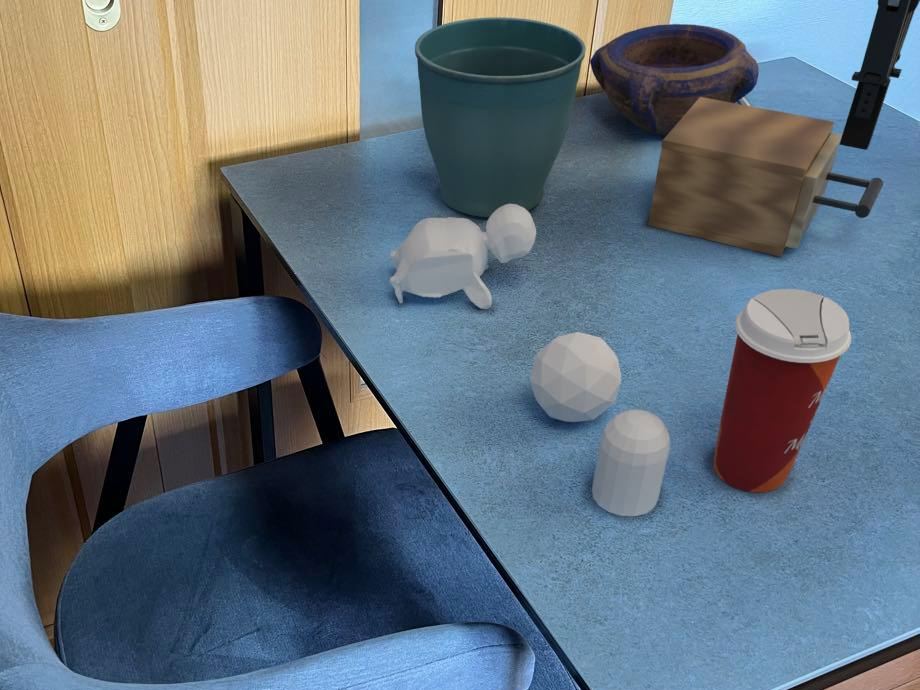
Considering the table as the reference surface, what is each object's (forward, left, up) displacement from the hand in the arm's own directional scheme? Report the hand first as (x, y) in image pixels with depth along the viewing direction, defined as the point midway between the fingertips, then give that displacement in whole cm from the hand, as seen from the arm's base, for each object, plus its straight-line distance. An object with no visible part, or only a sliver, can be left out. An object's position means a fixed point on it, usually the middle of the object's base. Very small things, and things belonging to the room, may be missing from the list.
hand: (854, 144), depth 105 cm
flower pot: (+37, +8, -11) cm, 39 cm away
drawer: (+6, 0, -9) cm, 11 cm away
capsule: (+5, +50, -11) cm, 51 cm away
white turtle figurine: (+31, +28, -11) cm, 43 cm away
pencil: (+16, -28, -11) cm, 34 cm away
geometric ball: (+13, +42, -11) cm, 45 cm away
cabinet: (+11, 0, -10) cm, 15 cm away
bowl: (+26, -21, -11) cm, 35 cm away
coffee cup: (-3, +42, -11) cm, 44 cm away
